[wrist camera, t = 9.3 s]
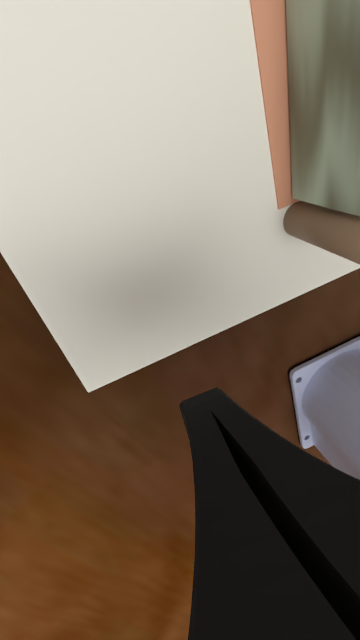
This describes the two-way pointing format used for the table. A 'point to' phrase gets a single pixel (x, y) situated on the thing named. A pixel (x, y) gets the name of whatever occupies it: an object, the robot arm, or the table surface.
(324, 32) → the fence panel
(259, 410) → the table surface
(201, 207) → the card
